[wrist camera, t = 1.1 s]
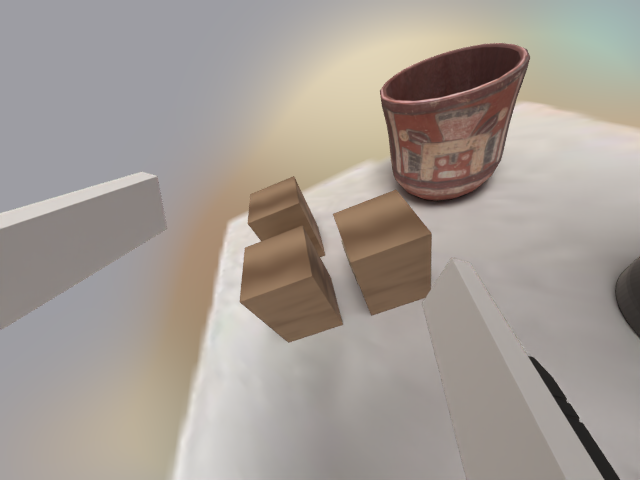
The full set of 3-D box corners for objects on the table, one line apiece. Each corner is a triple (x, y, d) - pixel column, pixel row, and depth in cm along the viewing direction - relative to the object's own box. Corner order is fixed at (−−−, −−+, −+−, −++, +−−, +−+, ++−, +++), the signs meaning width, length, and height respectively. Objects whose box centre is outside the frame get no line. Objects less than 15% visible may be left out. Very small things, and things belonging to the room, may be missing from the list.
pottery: (375, 180, 50) (359, 89, 37) (449, 145, 49) (457, 41, 37) (426, 229, 37) (426, 114, 24) (526, 181, 37) (578, 41, 24)
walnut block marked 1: (280, 240, 47) (249, 194, 39) (317, 226, 46) (293, 176, 38) (282, 270, 41) (246, 224, 33) (325, 255, 40) (298, 203, 32)
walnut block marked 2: (353, 270, 36) (331, 214, 28) (403, 252, 35) (396, 189, 27) (369, 316, 30) (348, 263, 22) (430, 296, 29) (431, 233, 21)
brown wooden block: (285, 294, 37) (244, 247, 29) (330, 277, 36) (302, 225, 28) (288, 342, 32) (239, 302, 23) (343, 324, 31) (312, 276, 23)
